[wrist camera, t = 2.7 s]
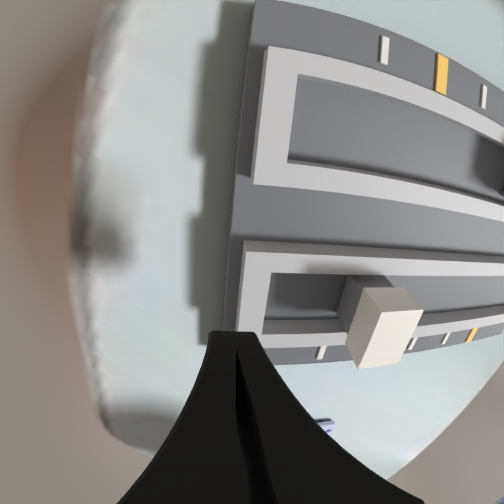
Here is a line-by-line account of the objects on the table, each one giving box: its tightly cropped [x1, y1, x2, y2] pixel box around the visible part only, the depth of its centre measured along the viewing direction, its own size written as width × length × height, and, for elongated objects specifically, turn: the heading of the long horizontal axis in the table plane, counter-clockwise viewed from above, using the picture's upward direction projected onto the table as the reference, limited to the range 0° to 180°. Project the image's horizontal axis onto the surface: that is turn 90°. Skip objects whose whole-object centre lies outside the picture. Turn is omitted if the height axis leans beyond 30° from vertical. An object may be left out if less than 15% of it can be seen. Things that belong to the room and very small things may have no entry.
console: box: [222, 0, 504, 365], centre depth 13 cm, size 16×22×2 cm
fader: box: [336, 275, 424, 369], centre depth 12 cm, size 3×2×3 cm
